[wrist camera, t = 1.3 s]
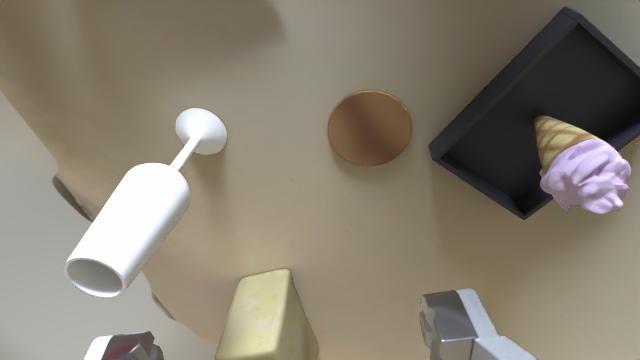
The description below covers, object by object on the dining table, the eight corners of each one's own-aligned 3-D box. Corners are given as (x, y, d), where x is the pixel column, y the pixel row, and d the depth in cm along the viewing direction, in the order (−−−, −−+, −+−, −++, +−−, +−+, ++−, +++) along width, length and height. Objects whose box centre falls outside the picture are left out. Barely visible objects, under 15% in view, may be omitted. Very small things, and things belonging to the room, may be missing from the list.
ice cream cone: (535, 155, 47) (597, 242, 34) (495, 131, 45) (544, 213, 33) (581, 111, 43) (669, 191, 31) (539, 84, 42) (613, 156, 29)
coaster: (369, 72, 43) (369, 73, 42) (428, 128, 46) (429, 130, 46) (311, 130, 48) (310, 132, 47) (368, 177, 51) (368, 179, 50)
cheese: (339, 343, 73) (334, 430, 61) (293, 350, 76) (279, 435, 63) (290, 265, 62) (272, 352, 50) (238, 276, 65) (209, 362, 52)
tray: (564, 6, 38) (580, 13, 35) (660, 92, 41) (681, 104, 39) (428, 145, 47) (432, 159, 45) (515, 204, 51) (524, 220, 49)
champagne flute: (164, 123, 49) (32, 265, 29) (202, 98, 47) (87, 234, 27) (199, 162, 52) (101, 315, 32) (237, 140, 50) (156, 292, 30)
